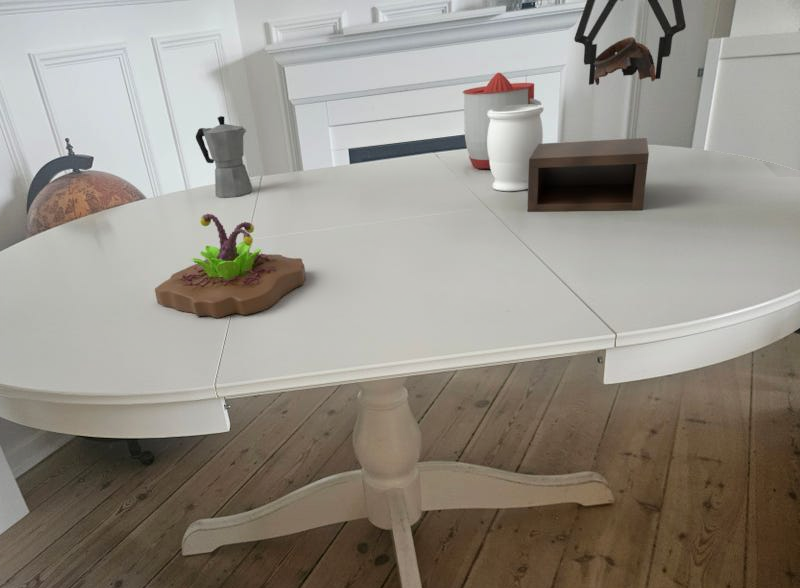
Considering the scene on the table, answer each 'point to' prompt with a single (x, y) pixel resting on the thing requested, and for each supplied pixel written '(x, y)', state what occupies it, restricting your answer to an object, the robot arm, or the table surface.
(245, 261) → the plant
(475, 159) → the citrus juicer
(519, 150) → the jar
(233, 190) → the coffeepot
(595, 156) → the stand
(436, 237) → the table surface
